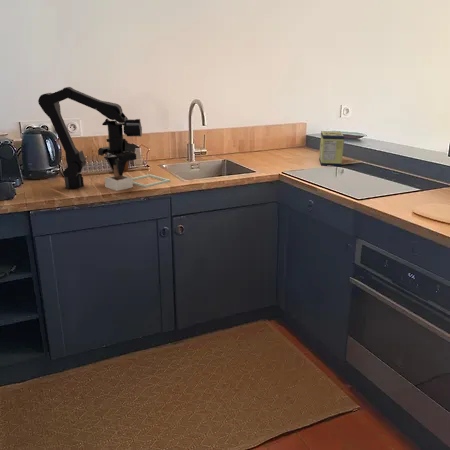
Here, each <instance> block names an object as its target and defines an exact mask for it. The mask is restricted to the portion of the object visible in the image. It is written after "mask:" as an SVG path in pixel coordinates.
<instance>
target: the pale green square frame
mask: <svg viewBox="0 0 450 450" xmlns="http://www.w3.org/2000/svg"><path fill="white" fill-rule="evenodd" d="M146 178H153V179H157V180H161V181H156V182H150V183H147V184H144V183H139V182H136V181H138V180H141V179H146ZM132 181H133V185H134V186H137V187H141V188H145V189H146V188H149V187H150V188H151V187H154V186H158V185H163V184H166V183H171V179H169V178H164V177H161V176H158V175H154V174H151V173H150V174H144V175H140V176H136V177H132Z"/></svg>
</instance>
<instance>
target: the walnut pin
mask: <svg viewBox="0 0 450 450" xmlns="http://www.w3.org/2000/svg"><path fill="white" fill-rule="evenodd" d="M113 168H114V172H113V176H114V179H115V180H120V179H123V175H124V174H123V175H121V176H120V175H119V172H118V169H117V166H116V164H115V165H113Z"/></svg>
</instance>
